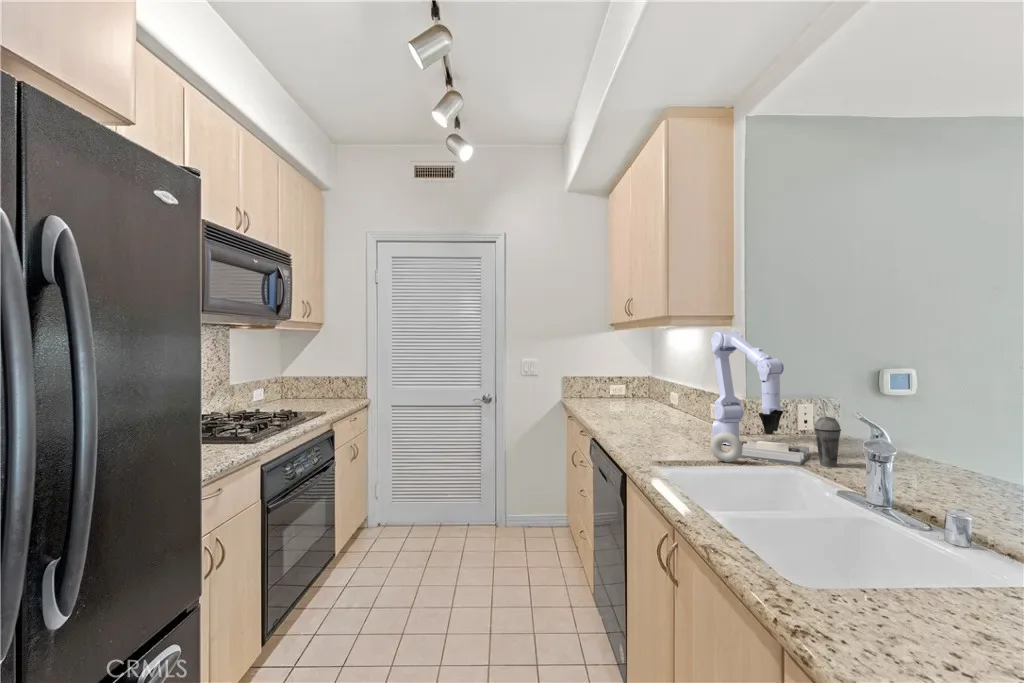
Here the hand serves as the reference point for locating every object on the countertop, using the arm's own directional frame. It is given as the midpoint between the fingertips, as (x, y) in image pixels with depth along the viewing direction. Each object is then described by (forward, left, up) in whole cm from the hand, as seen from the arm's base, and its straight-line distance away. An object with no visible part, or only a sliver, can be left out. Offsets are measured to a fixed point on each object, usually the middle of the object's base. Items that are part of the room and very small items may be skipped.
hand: (771, 432), depth 170 cm
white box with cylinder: (+2, 0, -7) cm, 7 cm away
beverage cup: (+17, -4, -9) cm, 19 cm away
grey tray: (0, 0, -8) cm, 8 cm away
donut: (-10, -18, -9) cm, 22 cm away
